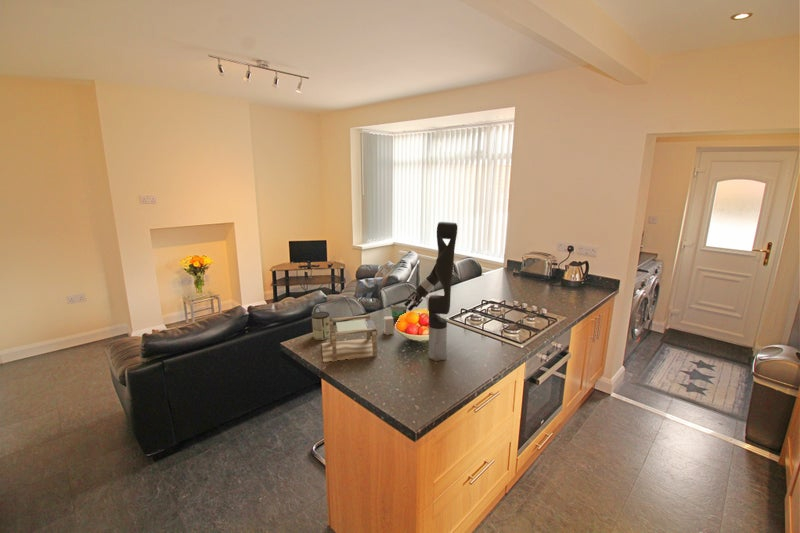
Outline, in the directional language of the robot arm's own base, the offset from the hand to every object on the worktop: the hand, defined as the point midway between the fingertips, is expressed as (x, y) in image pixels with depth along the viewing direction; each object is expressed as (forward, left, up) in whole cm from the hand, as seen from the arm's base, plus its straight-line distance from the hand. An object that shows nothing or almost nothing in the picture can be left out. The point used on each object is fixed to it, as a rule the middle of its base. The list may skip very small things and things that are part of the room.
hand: (407, 307), depth 222 cm
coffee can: (+6, +52, -15) cm, 54 cm away
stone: (0, +12, -15) cm, 19 cm away
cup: (+20, -24, -15) cm, 35 cm away
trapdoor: (-17, +33, -5) cm, 38 cm away
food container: (+20, +2, -15) cm, 25 cm away
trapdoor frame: (-17, +38, -15) cm, 45 cm away
